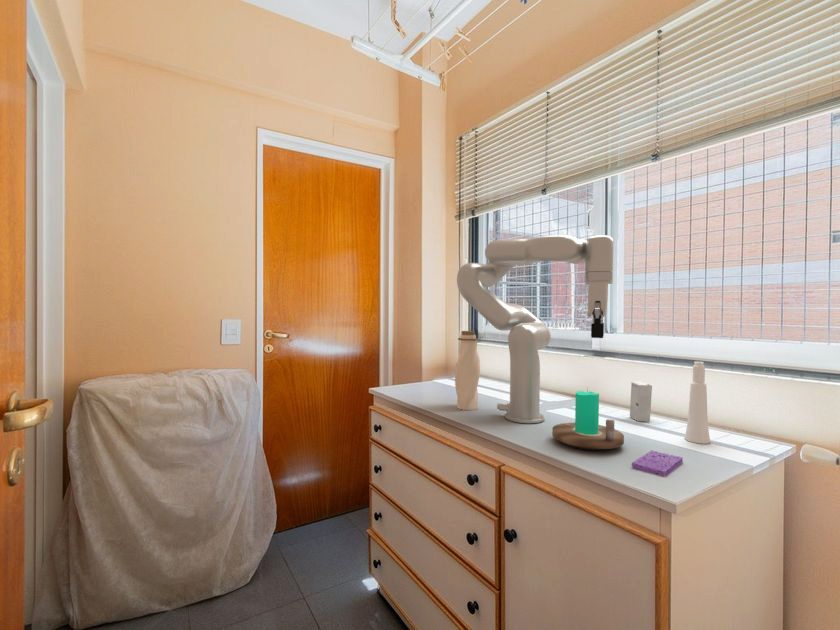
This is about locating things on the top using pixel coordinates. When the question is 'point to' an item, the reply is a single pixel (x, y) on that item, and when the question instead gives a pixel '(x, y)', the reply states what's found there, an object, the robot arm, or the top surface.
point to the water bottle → (467, 372)
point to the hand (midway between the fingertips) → (597, 336)
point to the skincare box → (640, 401)
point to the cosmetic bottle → (698, 408)
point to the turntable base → (586, 448)
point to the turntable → (589, 436)
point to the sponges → (657, 463)
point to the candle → (587, 412)
